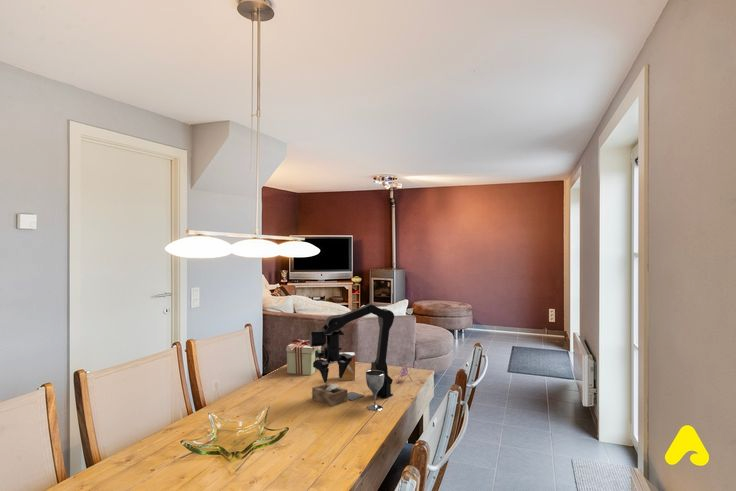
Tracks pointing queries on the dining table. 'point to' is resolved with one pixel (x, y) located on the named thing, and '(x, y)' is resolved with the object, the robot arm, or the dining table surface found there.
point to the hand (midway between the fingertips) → (332, 380)
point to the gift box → (301, 357)
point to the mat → (353, 396)
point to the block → (332, 387)
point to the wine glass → (374, 386)
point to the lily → (404, 372)
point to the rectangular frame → (329, 395)
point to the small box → (349, 368)
